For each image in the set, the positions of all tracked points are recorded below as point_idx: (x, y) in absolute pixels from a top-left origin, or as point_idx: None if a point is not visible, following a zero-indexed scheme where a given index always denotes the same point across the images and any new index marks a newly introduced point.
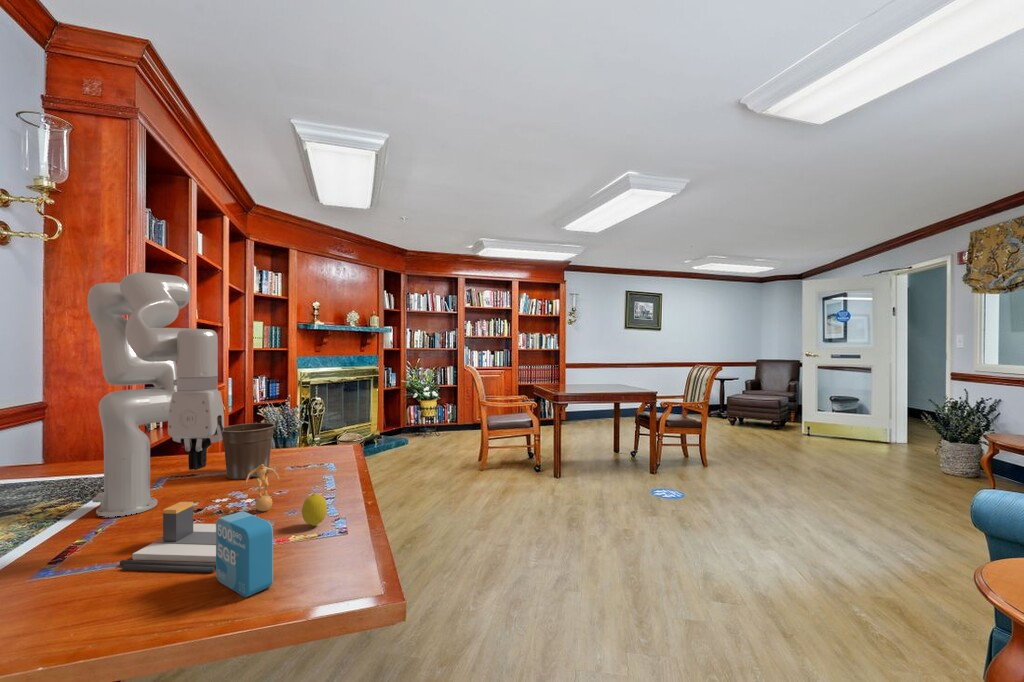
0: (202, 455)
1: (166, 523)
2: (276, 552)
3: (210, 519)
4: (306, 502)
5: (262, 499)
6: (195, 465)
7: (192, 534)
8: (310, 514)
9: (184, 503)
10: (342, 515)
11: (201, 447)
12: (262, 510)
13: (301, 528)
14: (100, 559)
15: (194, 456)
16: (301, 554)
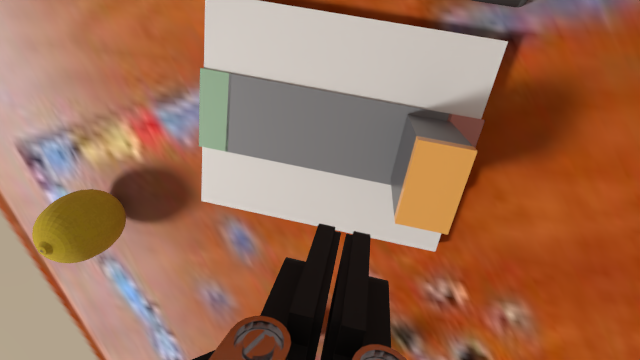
0: (266, 310)
1: (449, 132)
2: (119, 51)
3: (406, 294)
4: (67, 221)
5: None
6: (315, 236)
7: (385, 164)
8: (76, 194)
9: (421, 211)
10: (90, 259)
11: (220, 350)
12: None
13: (141, 197)
14: (609, 54)
15: (310, 283)
16: (51, 31)
